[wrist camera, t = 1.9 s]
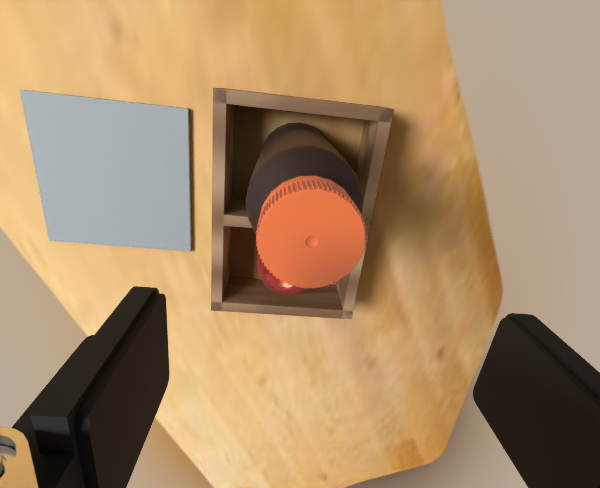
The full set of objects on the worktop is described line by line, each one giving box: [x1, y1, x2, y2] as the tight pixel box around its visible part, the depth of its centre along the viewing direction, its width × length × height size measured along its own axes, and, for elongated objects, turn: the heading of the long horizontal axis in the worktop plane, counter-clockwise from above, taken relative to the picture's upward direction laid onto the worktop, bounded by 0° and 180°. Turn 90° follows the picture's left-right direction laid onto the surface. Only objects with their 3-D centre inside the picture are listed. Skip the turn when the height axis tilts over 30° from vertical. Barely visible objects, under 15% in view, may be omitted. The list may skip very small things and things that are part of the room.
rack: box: [211, 88, 394, 319], centre depth 33 cm, size 20×14×5 cm
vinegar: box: [246, 123, 367, 289], centre depth 24 cm, size 7×7×20 cm
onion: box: [257, 255, 305, 294], centre depth 34 cm, size 6×6×8 cm
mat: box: [20, 90, 192, 252], centre depth 33 cm, size 14×14×1 cm
